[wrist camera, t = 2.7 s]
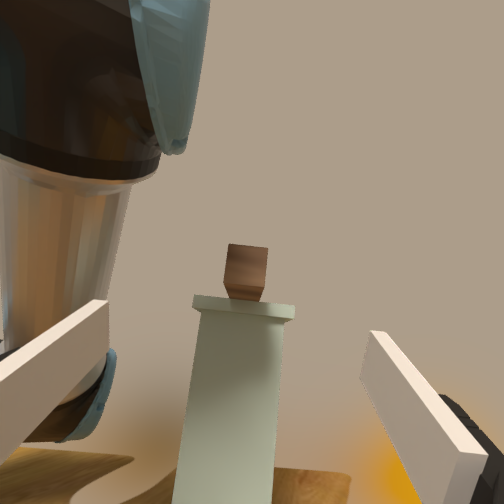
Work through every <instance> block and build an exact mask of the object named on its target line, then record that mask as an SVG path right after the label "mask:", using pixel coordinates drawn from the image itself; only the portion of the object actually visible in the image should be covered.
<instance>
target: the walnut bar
mask: <svg viewBox="0 0 504 504" xmlns="http://www.w3.org/2000/svg"><path fill="white" fill-rule="evenodd" d="M267 255H268V248H264V247H254V246H245V245H236V244H229V245H228V252H227V260H226V267H225V274H224V281H223V283H224V285H225V288H226V290H227V293H228V296H229V298H230V299H238V300H247V301H256V302H259V300H260V298H261V295H262V292H263V290H264V286H265V276H266V265H267Z"/></svg>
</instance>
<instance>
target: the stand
mask: <svg viewBox="0 0 504 504" xmlns="http://www.w3.org/2000/svg"><path fill="white" fill-rule="evenodd" d="M192 308H194V309H196V310H197V311H199V312H201V318H200V324H199V330H198V337H197V344H196V350H195V356H194V363H193V369H192V376H191V382H190V388H189V395H188V401H187V407H186V414H185V420H184V427H183V433H182V439H181V446H180V452H179V459H178V465H177V471H176V477H175V484H174V490H173V497H172V503H171V504H271V501H272V488H273V474H274V458H275V446H276V432H277V418H278V404H279V390H280V377H281V363H282V349H283V335H284V323H285V322H288V321H290V320H292V319H294V316H295V306H292V305H283V304H274V303H265V302H256V301H247V300H238V299H229V298H220V297H211V296H202V295H194V299H193V305H192Z"/></svg>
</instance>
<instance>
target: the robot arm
mask: <svg viewBox="0 0 504 504" xmlns="http://www.w3.org/2000/svg"><path fill="white" fill-rule="evenodd" d="M209 8H210V0H0V279H1V296H2V313H3V331H4V340H0V466H1V465H2V464H3V463H4V462H5V460H6V459H7V458H8V457H9V456H10V455H11V454H12V453H13V452H14V451H15V450H16V449H17V448H18V447H19V446H20V444H21V443H26V442H55V443H63V442H66V441H70V440H80V439H84V438H85V437H87V436H89V435H90V434H91V433H92V432H93V431H94V429H95V428H96V426H97V424H98V422H99V420H100V418H101V416H102V413H103V410H104V406H105V402H106V401H107V399H108V396H109V393H110V389H111V386H112V382H113V378H114V373H115V368H116V360H117V357H116V353H115V351H114V350H113V349H111V348H109V301H106V298H107V294H108V289H109V285H110V280H111V276H112V271H113V267H114V262H115V257H116V253H117V249H118V244H119V240H120V235H121V231H122V226H123V222H124V217H125V213H126V209H127V204H128V199H129V195H130V191H131V186H132V185H133V184H136V183H138V182H141V181H143V180H146V179H148V178H150V177H151V176H153V175H154V174H155V172H156V170H157V168H158V164H159V160H160V156H161V153H162V152H163V153H164V154H166V155H172V154H175V155H179V154H182V153H183V152H184V151H185V149H186V144H187V140H188V135H189V131H190V128H191V124H192V120H193V114H194V109H195V104H196V97H197V92H198V86H199V80H200V74H201V68H202V61H203V54H204V47H205V40H206V33H207V24H208V16H209ZM360 380H361V382H362V384H363V386H364V388H365V390H366V392H367V394H368V396H369V398H370V400H371V402H372V404H373V406H374V408H375V410H376V412H377V414H378V416H379V418H380V420H381V422H382V424H383V426H384V428H385V430H386V432H387V434H388V436H389V438H390V440H391V442H392V444H393V446H394V448H395V450H396V452H397V454H398V456H399V458H400V460H401V462H402V464H403V466H404V468H405V470H406V472H407V474H408V476H409V478H410V480H411V482H412V484H413V486H414V488H415V490H416V492H417V494H418V496H419V498H420V500H421V502H422V504H504V455H503V454H502V453H501V451H500V450H499V449H498V448H497V447H496V446H495V445H494V444H493V442H492V441H491V440H490V439H489V438H488V437H487V436H486V435H485V434H484V432H483V431H482V430H479V427H478V426H477V425H476V424H475V422H474V421H473V420H471V419H470V417H469V416H468V414H467V413H466V412H465V411H464V410H463V409H462V408H461V407H460V406H459V405H458V404H457V403H455V402H454V401H453V400H451V399H450V398H449V397H447V396H446V395H441V394H437V393H436V392H435V390H434V389H433V388H432V387H431V386H430V384H429V383H428V382H427V381H426V380H425V379H424V377H423V376H422V375H421V374H420V373H419V371H418V370H417V369H416V368H415V367H414V365H413V364H412V363H411V362H410V361H409V359H408V358H407V357H406V356H405V355H404V354H403V352H402V351H401V350H400V349H399V347H398V346H397V345H396V344H395V343H394V341H393V340H392V339H391V338H390V337H389V336H388V334H387V333H386V332H381V331H372V330H370V333H369V338H368V342H367V347H366V352H365V356H364V361H363V366H362V370H361V375H360Z"/></svg>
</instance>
